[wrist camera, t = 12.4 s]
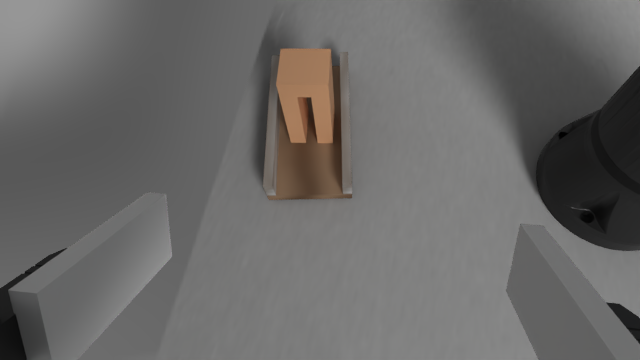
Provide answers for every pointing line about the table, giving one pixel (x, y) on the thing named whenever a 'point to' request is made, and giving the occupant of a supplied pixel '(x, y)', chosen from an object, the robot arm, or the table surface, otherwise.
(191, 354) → the table surface
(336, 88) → the rail
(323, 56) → the clip
